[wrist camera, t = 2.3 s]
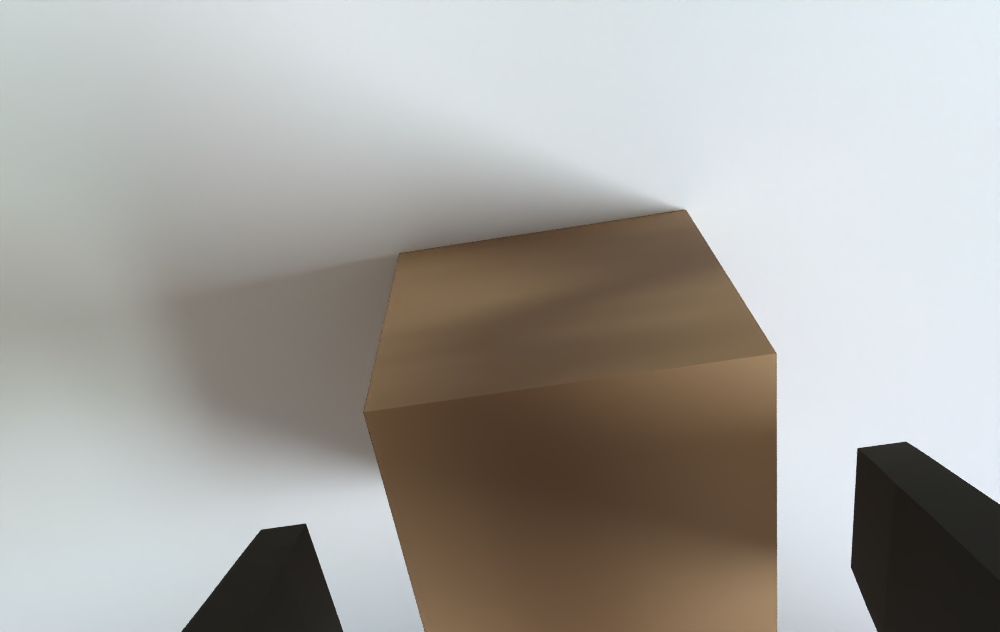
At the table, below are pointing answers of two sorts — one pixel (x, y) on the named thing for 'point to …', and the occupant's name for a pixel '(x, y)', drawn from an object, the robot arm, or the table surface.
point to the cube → (579, 434)
